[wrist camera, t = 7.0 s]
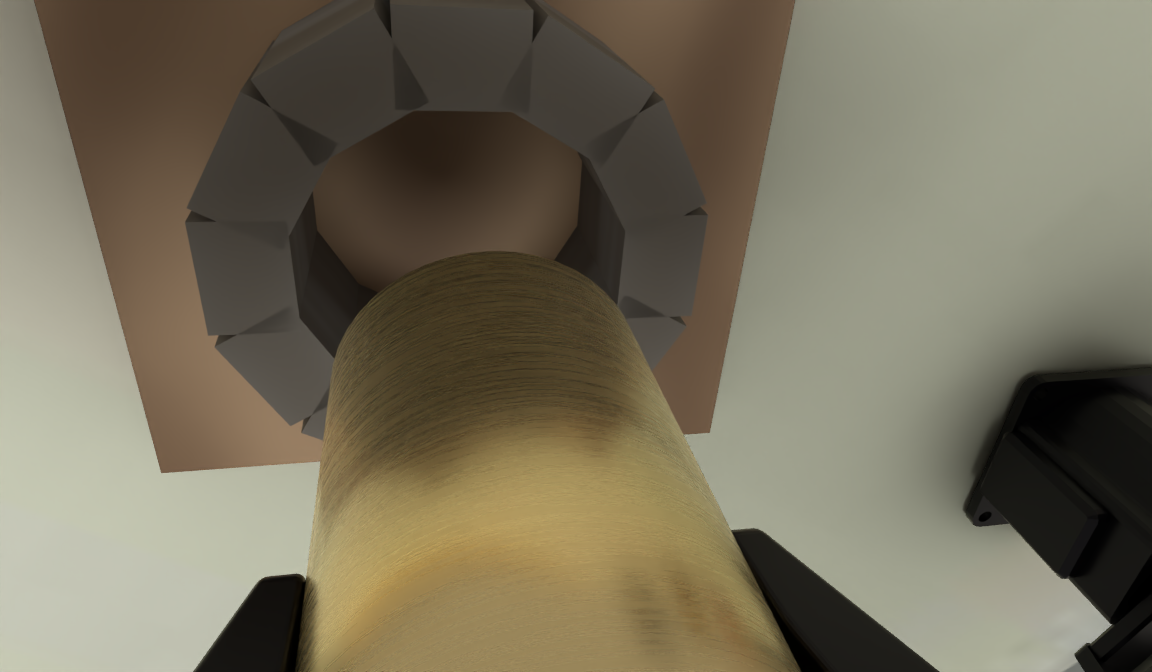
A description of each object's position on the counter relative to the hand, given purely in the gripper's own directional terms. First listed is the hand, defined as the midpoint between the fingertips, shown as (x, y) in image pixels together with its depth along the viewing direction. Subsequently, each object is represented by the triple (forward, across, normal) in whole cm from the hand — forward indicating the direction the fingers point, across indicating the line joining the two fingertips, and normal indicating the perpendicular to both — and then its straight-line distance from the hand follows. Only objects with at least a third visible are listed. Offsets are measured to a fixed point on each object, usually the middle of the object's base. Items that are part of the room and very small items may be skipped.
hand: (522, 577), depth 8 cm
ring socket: (+12, 0, 0) cm, 12 cm away
